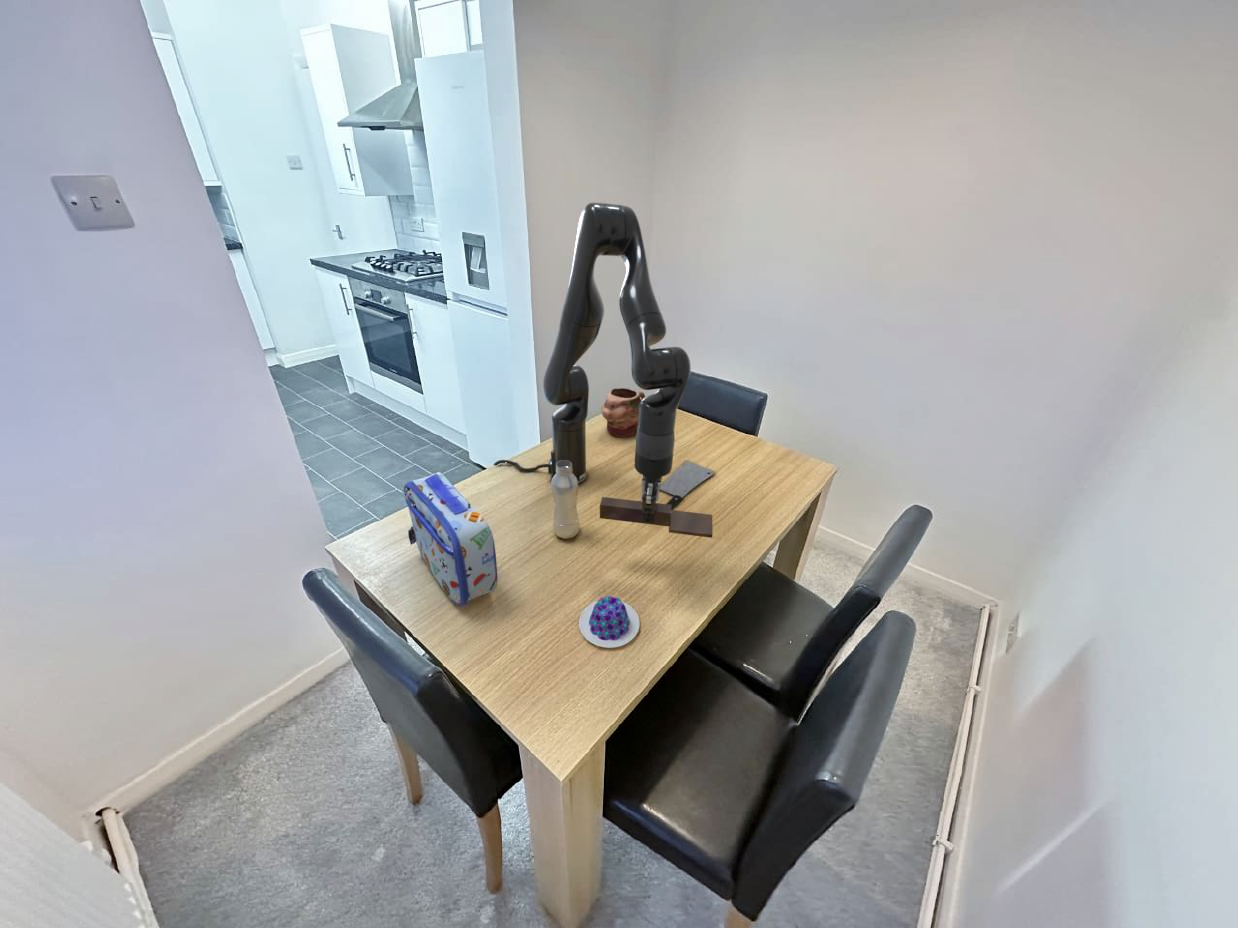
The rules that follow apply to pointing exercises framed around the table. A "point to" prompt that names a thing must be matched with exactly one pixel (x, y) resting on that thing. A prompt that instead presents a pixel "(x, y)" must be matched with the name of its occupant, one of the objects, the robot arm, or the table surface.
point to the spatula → (658, 516)
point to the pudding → (609, 622)
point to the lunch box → (451, 538)
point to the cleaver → (684, 481)
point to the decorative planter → (622, 411)
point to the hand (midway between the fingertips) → (649, 517)
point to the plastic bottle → (565, 500)
